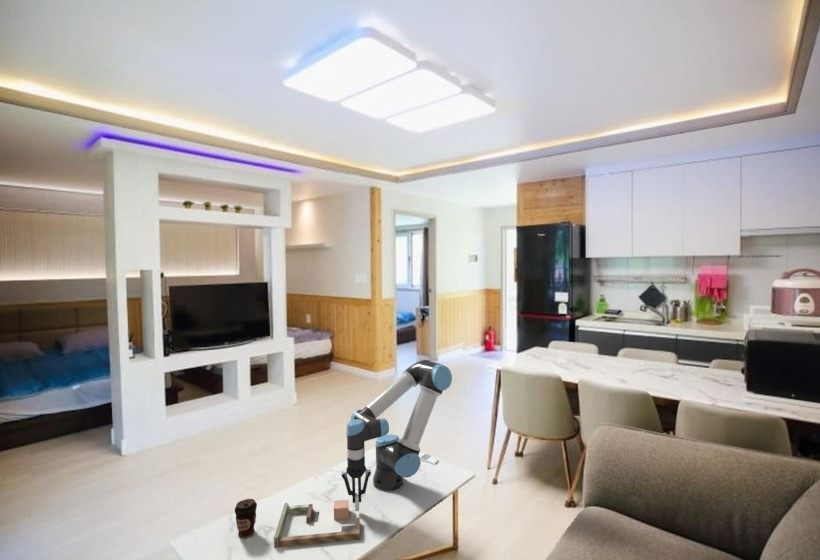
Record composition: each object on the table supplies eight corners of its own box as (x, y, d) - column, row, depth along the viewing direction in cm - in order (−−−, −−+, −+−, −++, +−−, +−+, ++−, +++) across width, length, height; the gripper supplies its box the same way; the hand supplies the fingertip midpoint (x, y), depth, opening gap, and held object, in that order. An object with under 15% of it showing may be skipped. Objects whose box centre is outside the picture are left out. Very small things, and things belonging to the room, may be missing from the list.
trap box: (359, 505, 186) (359, 496, 186) (359, 539, 163) (359, 529, 163) (285, 511, 182) (284, 503, 182) (274, 547, 159) (273, 537, 159)
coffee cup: (249, 542, 163) (248, 510, 162) (230, 540, 164) (229, 508, 164) (261, 528, 171) (260, 498, 170) (243, 526, 173) (242, 496, 172)
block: (348, 510, 182) (348, 499, 182) (348, 518, 176) (347, 507, 176) (334, 511, 182) (334, 500, 181) (334, 520, 176) (333, 508, 176)
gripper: (370, 451, 183) (371, 502, 184) (341, 453, 182) (342, 505, 183) (371, 459, 176) (372, 513, 177) (340, 461, 174) (341, 515, 175)
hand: (357, 509), depth 180 cm, fingers closed
